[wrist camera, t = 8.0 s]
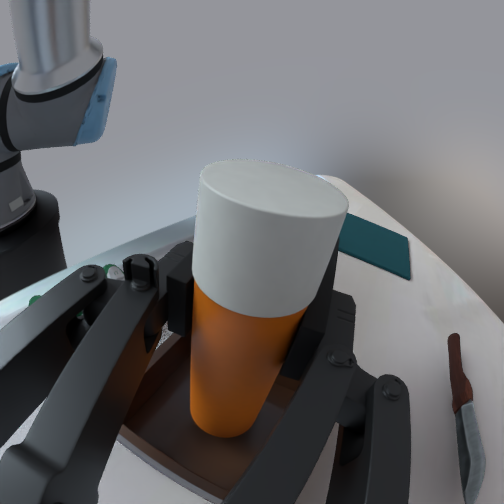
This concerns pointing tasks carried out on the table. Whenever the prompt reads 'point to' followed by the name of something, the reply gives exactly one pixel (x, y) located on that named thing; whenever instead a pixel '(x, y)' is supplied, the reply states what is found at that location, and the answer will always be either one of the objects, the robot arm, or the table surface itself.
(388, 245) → the mat
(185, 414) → the box
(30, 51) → the robot arm
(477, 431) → the knife
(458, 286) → the table surface
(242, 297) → the glue stick
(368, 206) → the table surface
